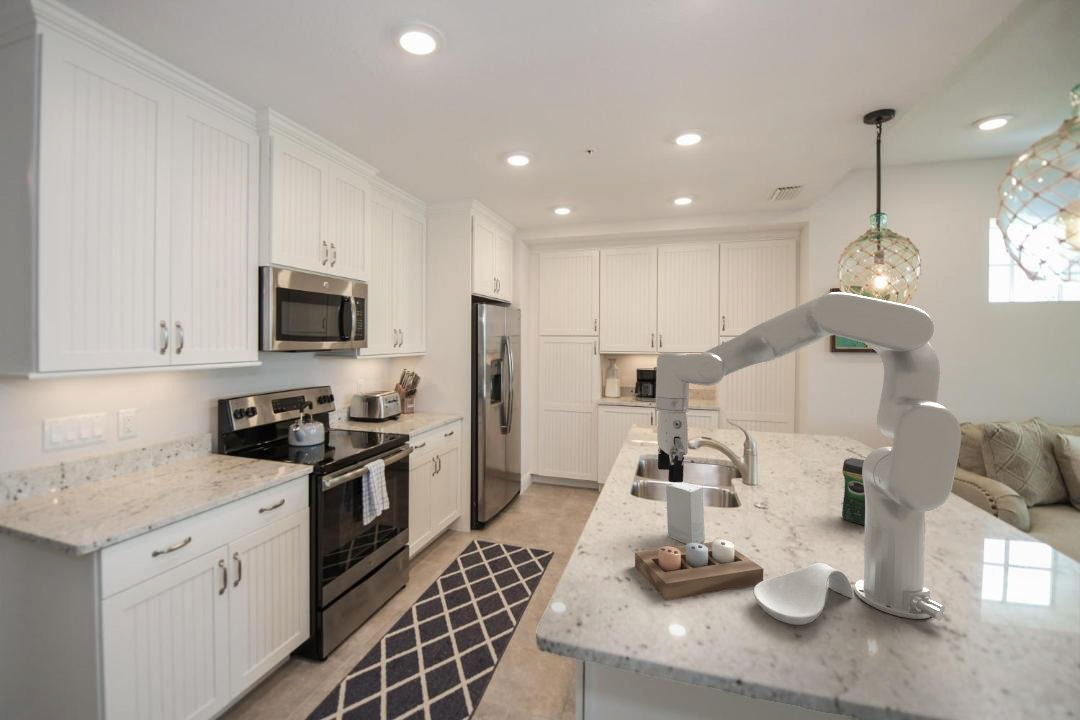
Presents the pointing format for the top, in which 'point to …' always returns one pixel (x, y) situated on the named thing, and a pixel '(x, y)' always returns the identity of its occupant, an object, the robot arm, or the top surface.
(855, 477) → the coffee jar
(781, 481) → the top surface
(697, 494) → the skincare box
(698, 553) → the two-pip button
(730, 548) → the one-pip button
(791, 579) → the spoon rest
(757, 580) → the wooden three-slot caddy
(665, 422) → the robot arm
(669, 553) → the three-pip button
